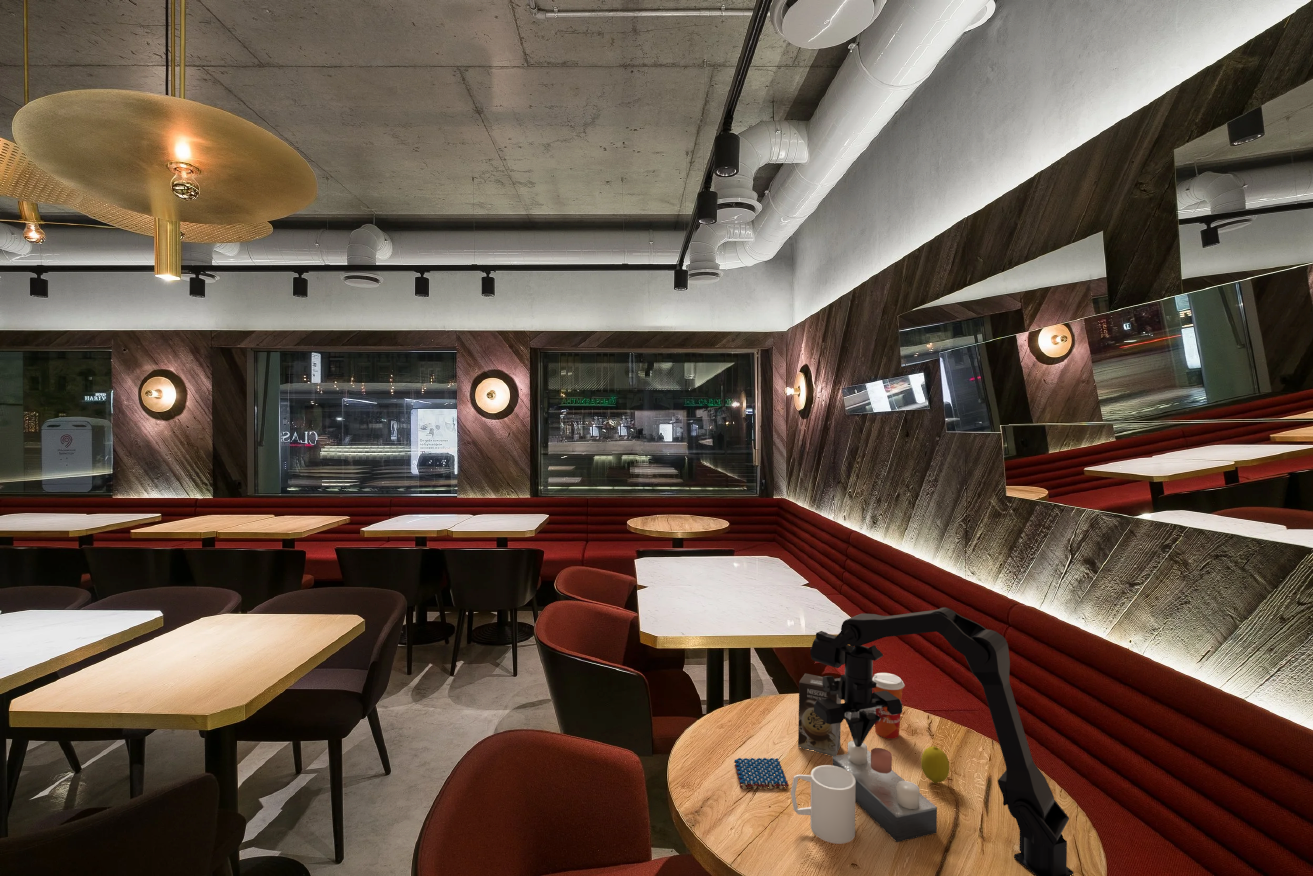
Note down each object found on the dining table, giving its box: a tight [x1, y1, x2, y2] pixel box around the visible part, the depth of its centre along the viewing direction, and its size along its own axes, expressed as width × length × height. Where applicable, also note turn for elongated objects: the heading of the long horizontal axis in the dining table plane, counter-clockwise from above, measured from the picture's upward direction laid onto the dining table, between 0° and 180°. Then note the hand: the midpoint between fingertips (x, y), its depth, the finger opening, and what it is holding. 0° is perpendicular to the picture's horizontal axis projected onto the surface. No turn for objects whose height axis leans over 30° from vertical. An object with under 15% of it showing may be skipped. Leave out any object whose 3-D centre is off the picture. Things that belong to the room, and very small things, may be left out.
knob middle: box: [870, 747, 893, 773], centre depth 123 cm, size 4×4×3 cm
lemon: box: [920, 745, 950, 784], centre depth 130 cm, size 6×6×8 cm
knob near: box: [897, 780, 921, 809], centre depth 115 cm, size 4×4×3 cm
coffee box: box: [797, 673, 842, 757], centre depth 145 cm, size 9×6×16 cm
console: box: [832, 749, 938, 843], centre depth 123 cm, size 21×9×5 cm, turn 17°
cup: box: [790, 764, 856, 845], centre depth 115 cm, size 8×12×10 cm
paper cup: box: [872, 672, 906, 740], centre depth 151 cm, size 8×8×14 cm
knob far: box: [847, 740, 868, 764], centre depth 130 cm, size 4×4×3 cm
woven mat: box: [733, 757, 790, 790], centre depth 133 cm, size 10×11×2 cm
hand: (857, 745), depth 130 cm, fingers closed, pressing on knob far
